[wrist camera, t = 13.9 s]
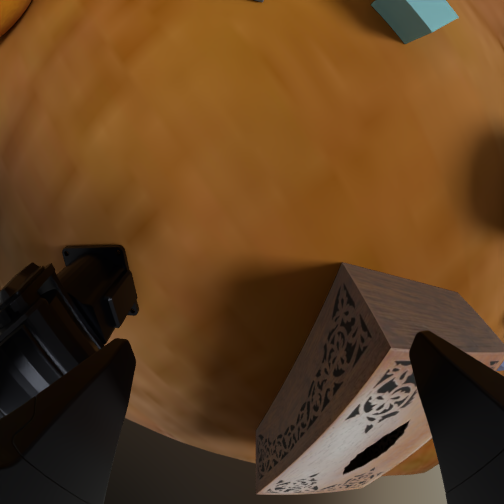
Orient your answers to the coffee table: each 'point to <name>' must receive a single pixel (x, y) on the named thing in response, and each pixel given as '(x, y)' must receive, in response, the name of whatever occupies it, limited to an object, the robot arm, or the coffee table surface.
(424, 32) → the block
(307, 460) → the tissue box cover
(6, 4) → the fruit
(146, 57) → the coffee table surface
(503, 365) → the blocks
